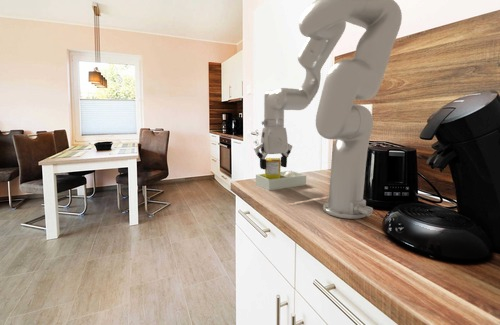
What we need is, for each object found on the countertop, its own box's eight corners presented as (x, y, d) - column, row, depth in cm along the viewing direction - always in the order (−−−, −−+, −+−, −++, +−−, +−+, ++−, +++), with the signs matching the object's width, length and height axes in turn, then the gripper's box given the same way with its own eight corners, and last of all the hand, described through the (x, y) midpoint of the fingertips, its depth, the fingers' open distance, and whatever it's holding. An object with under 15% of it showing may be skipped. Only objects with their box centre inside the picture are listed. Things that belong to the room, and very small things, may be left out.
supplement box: (279, 184, 108) (280, 157, 106) (280, 188, 102) (280, 160, 100) (265, 183, 108) (265, 157, 106) (264, 187, 102) (265, 160, 100)
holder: (305, 186, 107) (306, 175, 107) (269, 191, 99) (269, 179, 98) (290, 180, 116) (291, 170, 115) (255, 185, 107) (255, 174, 107)
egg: (297, 183, 108) (298, 172, 108) (288, 185, 106) (288, 173, 105) (290, 181, 113) (290, 169, 112) (280, 182, 110) (281, 171, 110)
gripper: (259, 124, 93) (259, 171, 96) (297, 124, 102) (296, 167, 104) (249, 124, 100) (249, 168, 103) (286, 123, 108) (285, 164, 111)
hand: (273, 167), depth 103 cm, fingers open, 9 cm apart
